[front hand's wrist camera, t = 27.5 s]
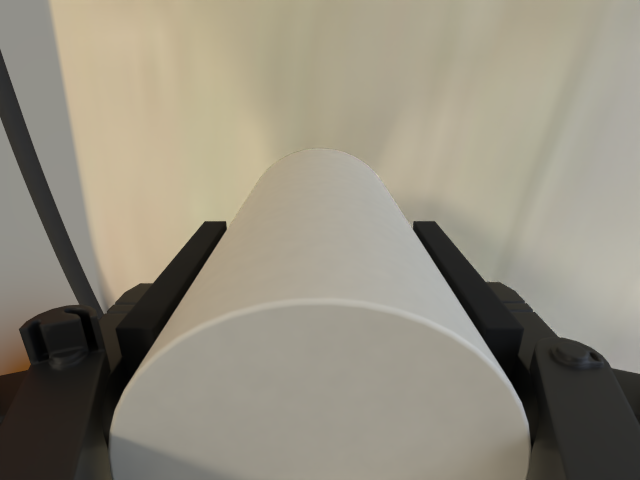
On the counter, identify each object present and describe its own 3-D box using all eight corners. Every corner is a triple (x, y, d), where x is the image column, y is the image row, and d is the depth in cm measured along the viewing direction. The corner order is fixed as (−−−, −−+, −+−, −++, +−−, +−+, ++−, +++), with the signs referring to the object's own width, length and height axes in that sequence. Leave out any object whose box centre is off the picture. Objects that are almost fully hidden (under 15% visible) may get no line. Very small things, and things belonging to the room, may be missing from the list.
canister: (339, 116, 16) (389, 199, 4) (418, 237, 18) (598, 515, 6) (217, 204, 18) (12, 444, 6) (303, 307, 20) (279, 641, 8)
